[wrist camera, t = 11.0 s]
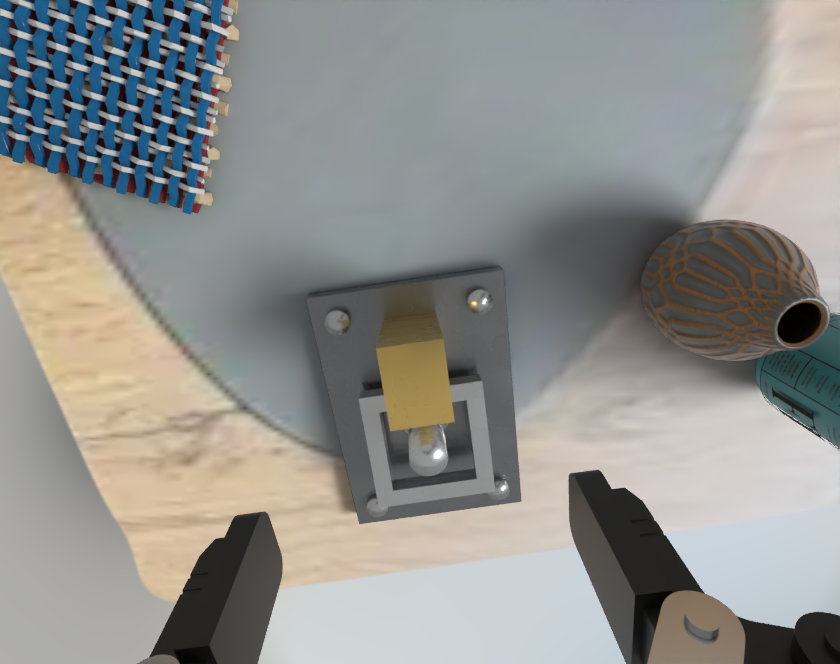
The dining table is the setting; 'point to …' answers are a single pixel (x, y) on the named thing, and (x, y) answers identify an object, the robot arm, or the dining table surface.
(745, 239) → the vase
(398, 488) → the end link
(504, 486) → the toggle switch
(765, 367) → the beverage bottle
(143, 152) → the woven mat
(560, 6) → the dining table surface
